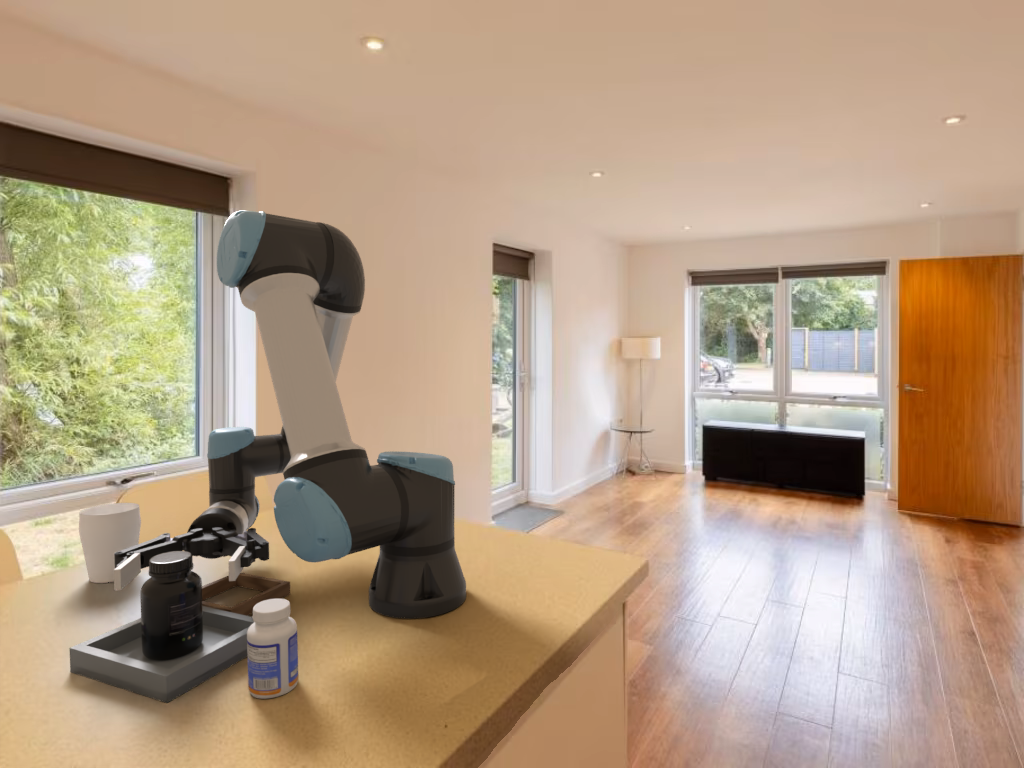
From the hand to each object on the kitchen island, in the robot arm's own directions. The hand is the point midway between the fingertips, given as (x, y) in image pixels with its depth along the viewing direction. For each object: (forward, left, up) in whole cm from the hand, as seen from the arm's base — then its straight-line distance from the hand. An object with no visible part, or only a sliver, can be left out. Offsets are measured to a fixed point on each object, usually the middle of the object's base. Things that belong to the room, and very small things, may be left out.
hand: (175, 575), depth 78 cm
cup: (+34, -14, -10) cm, 38 cm away
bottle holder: (+5, -14, -10) cm, 18 cm away
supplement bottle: (-1, +2, -9) cm, 9 cm away
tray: (-2, +2, -10) cm, 10 cm away
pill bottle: (-19, +2, -10) cm, 21 cm away
